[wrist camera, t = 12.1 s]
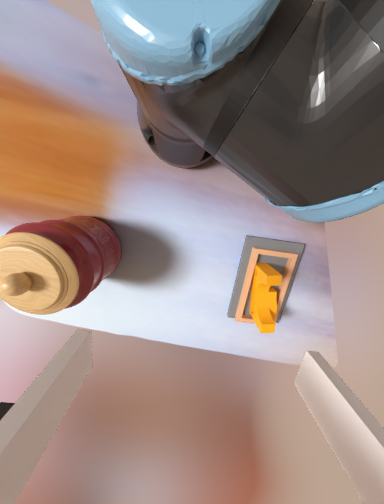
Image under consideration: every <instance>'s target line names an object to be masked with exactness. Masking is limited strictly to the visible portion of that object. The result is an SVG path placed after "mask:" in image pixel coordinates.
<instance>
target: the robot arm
mask: <svg viewBox="0 0 384 504" xmlns="http://www.w3.org/2000/svg"><path fill="white" fill-rule="evenodd" d="M313 1H314V0H91V3H92V5H93V8H94V11H95V13H96V16H97V19H98V21H99V24H100V26H101V30H102V34H103V37H104V40H105V42H106V44H107V46H108V47H109V50H110V52H111V53H112V54H113V56H114V58H115V60H116V61H117V62H118V63H119V65H120V67H121V69H122V71H123V73H124V75H125V77H126V79H127V81H128V83H129V85H130V87H131V89H132V91H133V93H134V95H135V97H136V99H137V114H138V121H139V125H140V128H141V131H142V134H143V136H144V138H145V140H146V142H147V144H148V145H149V146H150V148H151V149H152V151H153V152H154V153H155V154H156V155H157V156H158V157H159V158H160V159H161V160H163V161H164V162H166V163H168V164H170V165H172V166H175V167H180V168H193V167H197V166H200V165H202V164H204V163H206V162H208V161H209V160H210V159H212V158H213V157H214V158H215V159H216V160H218V161H219V162H220V163H222V164H223V165H224V166H225V167H227V168H228V169H229V170H230V171H232V172H233V173H234V174H236V175H237V176H238V177H239V178H241V179H242V180H243V181H245V182H246V183H247V184H248V185H250V186H251V187H252V188H253V189H255V190H256V191H257V192H259V193H260V194H261V195H262V196H264V197H265V200H266V201H267V202H268V203H269V204H271V205H272V206H274V207H277V208H279V209H281V210H283V211H284V212H285V213H287V214H288V215H290V216H291V217H293V218H295V219H297V220H301V221H305V222H314V223H316V222H329V221H335V220H340V219H344V218H347V217H351V216H354V215H357V214H360V213H362V212H365V211H368V210H370V209H372V208H374V207H377V206H379V205H381V204H383V203H384V0H315V1H314V2H313ZM312 3H313V4H312ZM258 87H259V88H258ZM233 126H234V127H233ZM231 129H232V130H231ZM91 368H92V332H91V330H84V329H77V331H76V332H75V333H74V334H73V335H72V336H71V338H70V339H69V340H68V341H67V342H66V344H65V345H64V346H63V347H62V349H61V350H60V351H59V352H58V353H57V354H56V355H55V357H54V358H53V359H52V360H51V361H50V362H49V364H48V365H47V366H46V367H45V368H44V370H43V371H42V372H41V373H40V374H39V375H38V377H37V378H36V379H35V380H34V381H33V383H32V384H31V385H30V386H29V387H28V388H27V390H26V391H25V392H24V393H23V395H22V396H21V397H20V398H19V399H18V400H17V402H16V403H4V402H1V403H0V504H15V503H16V501H17V499H18V497H19V495H20V494H21V492H22V490H23V488H24V487H25V485H26V483H27V481H28V480H29V478H30V476H31V474H32V473H33V471H34V469H35V467H36V465H37V464H38V462H39V460H40V458H41V457H42V455H43V453H44V451H45V450H46V448H47V446H48V444H49V443H50V441H51V439H52V437H53V436H54V434H55V432H56V430H57V428H58V427H59V425H60V423H61V421H62V420H63V418H64V416H65V414H66V413H67V411H68V409H69V407H70V406H71V404H72V402H73V400H74V398H75V397H76V395H77V393H78V391H79V390H80V388H81V386H82V384H83V383H84V381H85V379H86V377H87V376H88V374H89V372H90V370H91ZM294 385H295V387H296V388H297V390H298V392H299V394H300V395H301V397H302V399H303V400H304V402H305V404H306V405H307V407H308V409H309V410H310V412H311V414H312V416H313V417H314V420H315V421H316V423H317V425H318V427H319V428H320V430H321V432H322V433H323V435H324V437H325V438H326V440H327V442H328V443H329V445H330V447H331V449H332V451H333V453H334V454H335V456H336V457H337V459H338V461H339V463H340V464H341V466H342V468H343V470H344V471H345V473H346V475H347V477H348V478H349V480H350V482H351V484H352V485H353V487H354V488H355V490H356V492H357V494H358V496H359V497H360V499H361V501H362V503H363V504H384V428H383V427H382V425H381V424H380V423H379V422H378V421H377V419H376V418H375V417H374V416H373V415H372V414H371V413H370V411H369V410H368V409H367V408H366V407H365V406H364V404H363V403H362V402H361V401H360V400H359V398H358V397H357V396H356V395H355V394H354V393H353V392H352V390H351V389H350V388H349V387H348V386H347V385H346V383H345V382H344V381H343V380H342V379H341V378H340V376H339V375H338V374H337V373H336V372H335V371H334V369H333V368H332V367H331V366H330V365H329V364H328V362H327V361H326V360H325V359H324V358H323V357H322V355H321V354H320V353H319V352H314V351H307V352H306V354H305V357H304V359H303V362H302V364H301V367H300V369H299V371H298V374H297V376H296V379H295V381H294Z"/></svg>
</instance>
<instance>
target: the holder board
mask: <svg viewBox="0 0 384 504" xmlns="http://www.w3.org/2000/svg"><path fill="white" fill-rule="evenodd" d="M304 246H305V244H302V243H296V242H289V241H282V240H275V239H268V238H261V237H254V236H248V235H246V238H245V242H244V247H243V251H242V255H241V259H240V263H239V268H238V272H237V276H236V280H235V284H234V289H233V293H232V297H231V301H230V305H229V309H228V314H227V315H228V317H231V318H235V320H236V321H237V322H246V323H255V321H254V320H253V318H252V316H251V314H250V302H251V290H252V279H253V273H254V269H255V265H256V263H267V264H269V265H270V266H271V267H272V268H274V269H275V270H276V271H277V272H279V273H280V274H281V275H282V280H281V285H278V286H272V287H273V288H274V289H275V290H276V291H277V296H276V301H277V312H276V319H275V321H274V323H279V320H280V317H281V314H282V311H283V308H284V305H285V302H286V299H287V296H288V293H289V290H290V287H291V284H292V281H293V278H294V275H295V272H296V269H297V266H298V263H299V261H300V258H301V255H302V252H303V249H304ZM255 324H256V323H255Z"/></svg>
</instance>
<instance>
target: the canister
mask: <svg viewBox="0 0 384 504" xmlns="http://www.w3.org/2000/svg"><path fill="white" fill-rule="evenodd" d="M120 257H121V244H120V241H119V238H118V236H117V235H116V233H115V232H114V230H113V229H112V228H111V227H110V226H109V225H107V224H106V223H104V222H103V221H101V220H99V219H96V218H93V217H88V216H73V217H68V218H66V219H61V220H46V221H42V222H39V223H26V224H22V225H19V226H17V227H14V228H13V229H11V230H10V231H8V232H7V233H6V234H5V235H4V236H2V237H0V298H1V299H2V300H4V301H5V302H6V303H8V304H9V305H11V306H13V307H14V308H17V309H19V310H21V311H24V312H27V313H31V314H41V315H43V314H52V313H56V312H58V311H61V310H63V309H66V308H69V307H72V306H75V305H77V304H79V303H80V302H82V301H83V300H84V299H85V298H86V297H87V296H88V294H89V293H90V292H92V291H93V290H94V289H95V288H96V287H97V286H98V285H99V284H100V282H101V281H102V280H103V279H104V278H106V277H107V276H108V275H110V274H111V273H112V272H113V271H114V270H115V268H116V267H117V265H118V263H119V260H120Z"/></svg>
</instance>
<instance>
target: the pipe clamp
mask: <svg viewBox="0 0 384 504" xmlns="http://www.w3.org/2000/svg"><path fill="white" fill-rule="evenodd" d="M281 280H282V275H281V274H280V273H279V272H277V271H276V270H275V269H274V268H272V267H271V266H270V265H269V264H267V263H256V265H255V269H254V273H253V279H252V290H251V302H250V314H251V316H252V318H253V320H254V321H255V323H256V325H257V327H258V329H259V330H260V332H261V333H274V331H275V323H274V321H275V319H276V312H277V301H276V296H277V291H276V290H275V289H274V288H273V287H272V286H278V285H281Z"/></svg>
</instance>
